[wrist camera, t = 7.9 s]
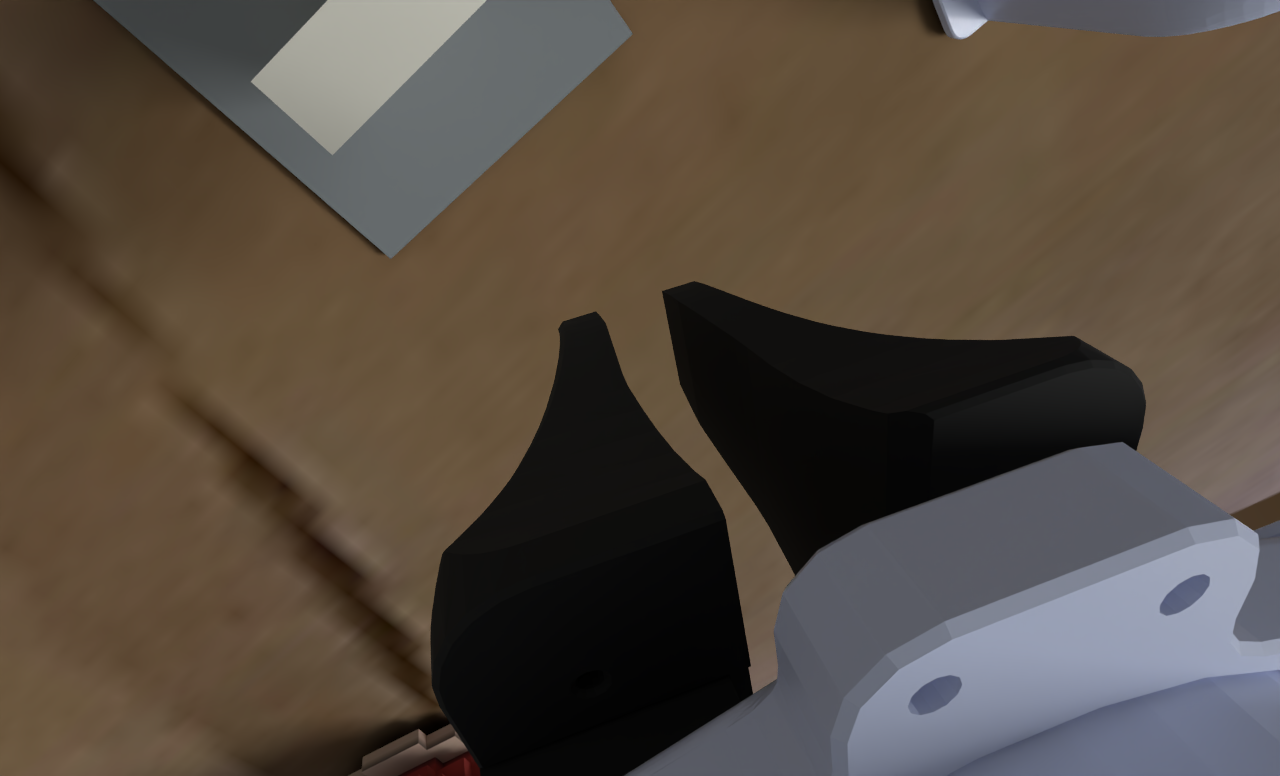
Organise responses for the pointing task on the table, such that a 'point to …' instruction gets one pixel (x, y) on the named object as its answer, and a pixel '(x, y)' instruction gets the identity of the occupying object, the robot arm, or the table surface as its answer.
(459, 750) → the cake
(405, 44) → the domino
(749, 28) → the table surface
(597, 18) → the mat
